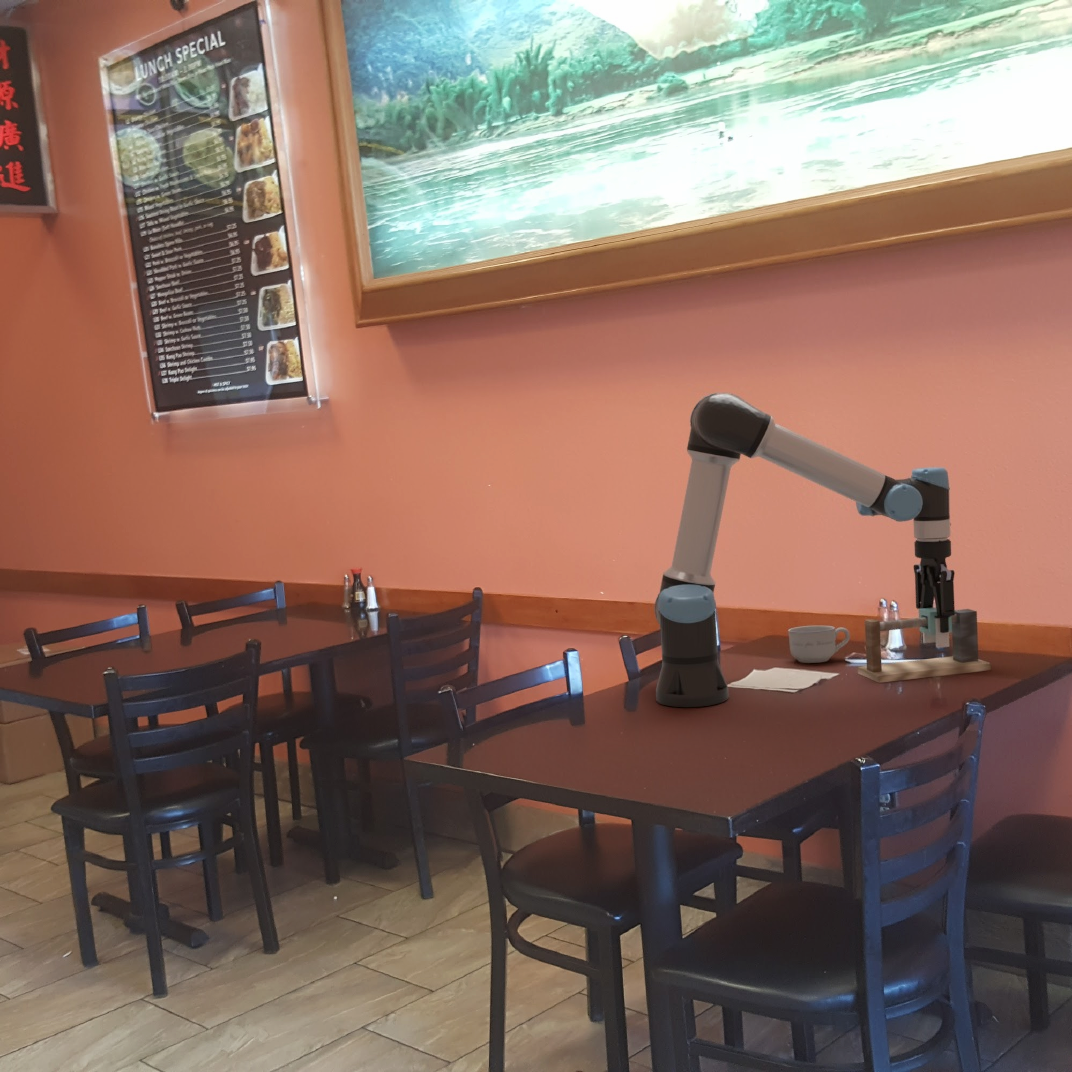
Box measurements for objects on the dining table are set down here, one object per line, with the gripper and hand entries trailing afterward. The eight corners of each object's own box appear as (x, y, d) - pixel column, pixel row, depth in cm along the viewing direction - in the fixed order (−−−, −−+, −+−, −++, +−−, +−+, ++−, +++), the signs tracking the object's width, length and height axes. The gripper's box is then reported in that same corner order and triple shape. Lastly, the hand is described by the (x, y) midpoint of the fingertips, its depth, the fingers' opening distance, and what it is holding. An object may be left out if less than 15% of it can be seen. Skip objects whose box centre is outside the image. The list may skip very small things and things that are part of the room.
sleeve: (930, 635, 258) (929, 612, 258) (919, 631, 263) (918, 608, 263) (952, 632, 259) (951, 610, 259) (940, 629, 264) (939, 606, 264)
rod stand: (878, 682, 255) (876, 624, 253) (858, 673, 264) (855, 617, 263) (990, 670, 259) (989, 613, 258) (966, 661, 269) (964, 606, 268)
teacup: (787, 666, 277) (785, 632, 276) (791, 656, 287) (790, 623, 286) (849, 666, 273) (848, 631, 272) (851, 656, 283) (850, 622, 282)
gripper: (970, 541, 251) (973, 650, 253) (927, 534, 269) (931, 636, 271) (937, 544, 250) (941, 653, 252) (896, 536, 268) (900, 639, 270)
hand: (936, 644), depth 262 cm, fingers closed on sleeve, 5 cm apart
